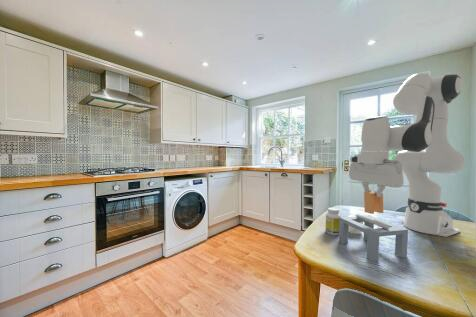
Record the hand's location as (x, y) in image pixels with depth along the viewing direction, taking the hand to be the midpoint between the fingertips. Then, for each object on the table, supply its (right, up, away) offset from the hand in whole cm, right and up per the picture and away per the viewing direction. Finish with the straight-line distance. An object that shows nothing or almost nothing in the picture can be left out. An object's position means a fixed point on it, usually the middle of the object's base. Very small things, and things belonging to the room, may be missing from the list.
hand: (372, 195), depth 77 cm
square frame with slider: (0, -21, +1) cm, 21 cm away
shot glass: (+3, -20, +17) cm, 27 cm away
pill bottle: (-8, -20, +16) cm, 27 cm away
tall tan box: (0, -7, 0) cm, 7 cm away
